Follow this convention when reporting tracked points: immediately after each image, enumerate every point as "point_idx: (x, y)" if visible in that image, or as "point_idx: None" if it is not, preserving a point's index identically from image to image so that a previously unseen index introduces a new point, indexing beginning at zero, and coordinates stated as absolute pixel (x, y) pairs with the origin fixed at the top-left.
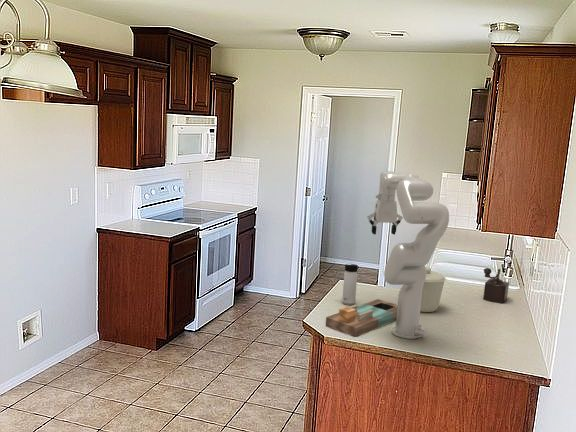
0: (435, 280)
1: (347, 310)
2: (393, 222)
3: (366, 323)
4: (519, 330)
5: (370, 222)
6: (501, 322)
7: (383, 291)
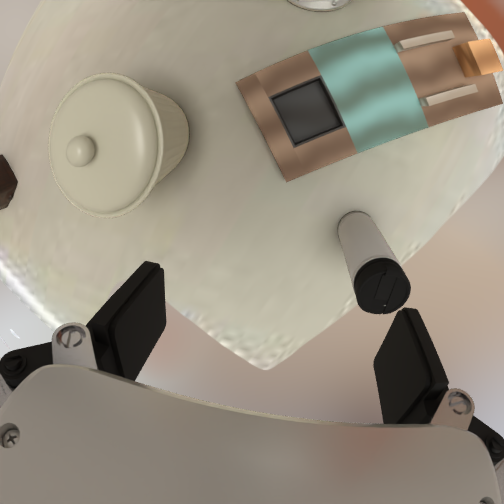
0: (95, 80)
1: (489, 48)
2: (100, 371)
3: (430, 17)
4: (50, 6)
5: (496, 433)
6: (48, 44)
7: (198, 288)
